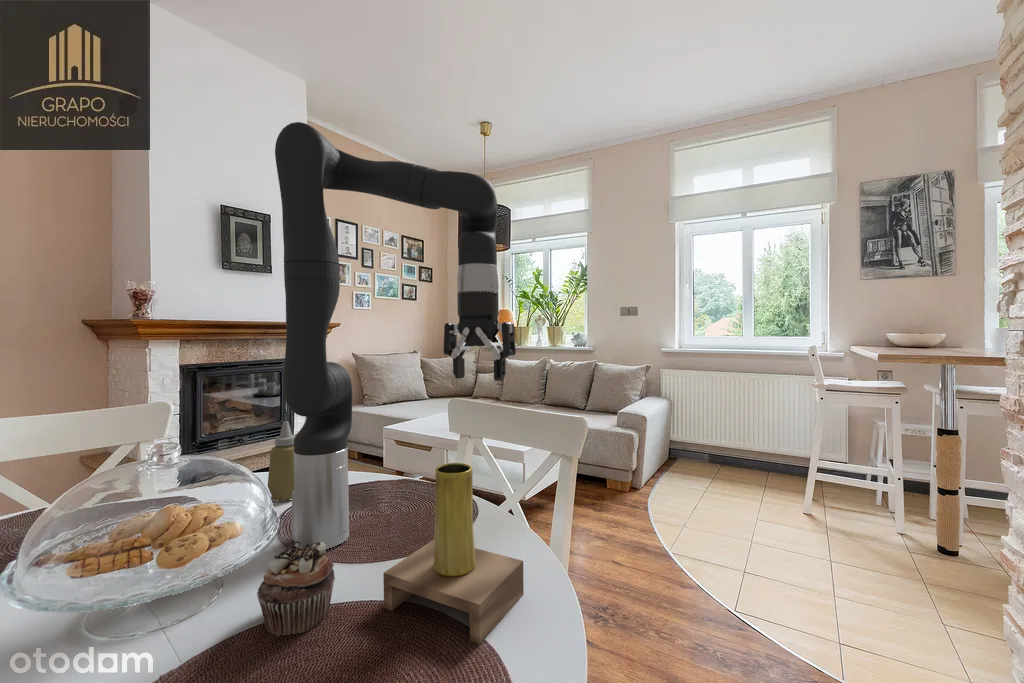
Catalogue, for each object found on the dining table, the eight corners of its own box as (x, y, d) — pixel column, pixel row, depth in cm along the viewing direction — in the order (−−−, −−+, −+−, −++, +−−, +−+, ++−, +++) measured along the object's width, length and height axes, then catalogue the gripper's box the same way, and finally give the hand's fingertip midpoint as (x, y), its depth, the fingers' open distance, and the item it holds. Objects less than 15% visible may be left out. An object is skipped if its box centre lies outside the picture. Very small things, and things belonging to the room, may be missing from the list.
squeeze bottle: (259, 503, 103) (257, 424, 102) (283, 490, 111) (281, 418, 110) (291, 505, 102) (290, 425, 101) (313, 492, 110) (311, 418, 109)
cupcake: (341, 593, 67) (340, 526, 67) (326, 636, 58) (325, 559, 57) (272, 600, 66) (271, 532, 65) (245, 646, 56) (243, 566, 56)
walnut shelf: (383, 607, 64) (383, 572, 63) (436, 568, 74) (436, 537, 74) (479, 644, 56) (479, 604, 56) (523, 594, 67) (523, 560, 66)
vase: (468, 579, 61) (468, 476, 61) (426, 575, 63) (425, 473, 62) (480, 557, 67) (480, 463, 67) (441, 553, 69) (441, 460, 68)
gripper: (434, 291, 83) (435, 379, 83) (501, 287, 76) (502, 383, 76) (458, 294, 89) (459, 375, 90) (521, 290, 82) (522, 379, 83)
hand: (478, 379), depth 83 cm, fingers open, 8 cm apart
